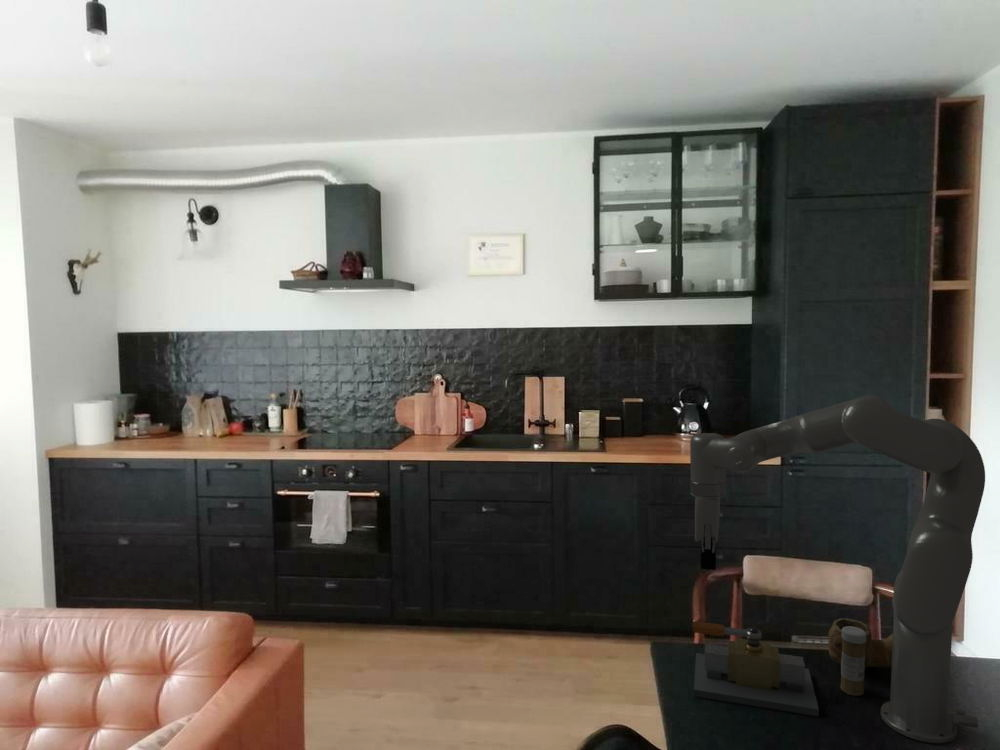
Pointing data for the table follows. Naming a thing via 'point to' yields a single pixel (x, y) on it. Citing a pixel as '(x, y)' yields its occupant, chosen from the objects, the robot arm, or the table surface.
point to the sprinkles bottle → (853, 660)
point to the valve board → (755, 692)
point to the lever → (726, 630)
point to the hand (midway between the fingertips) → (708, 567)
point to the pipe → (875, 649)
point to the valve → (754, 665)
